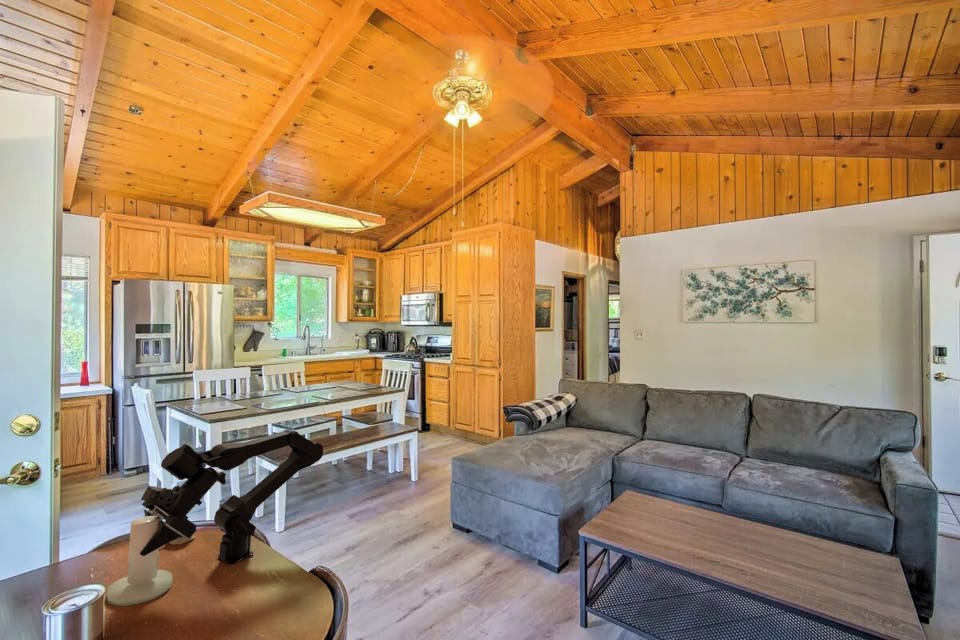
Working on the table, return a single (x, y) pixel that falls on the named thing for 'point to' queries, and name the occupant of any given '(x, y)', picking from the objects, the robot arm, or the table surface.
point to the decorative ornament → (181, 540)
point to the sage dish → (138, 590)
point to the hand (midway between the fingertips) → (137, 550)
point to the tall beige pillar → (140, 535)
